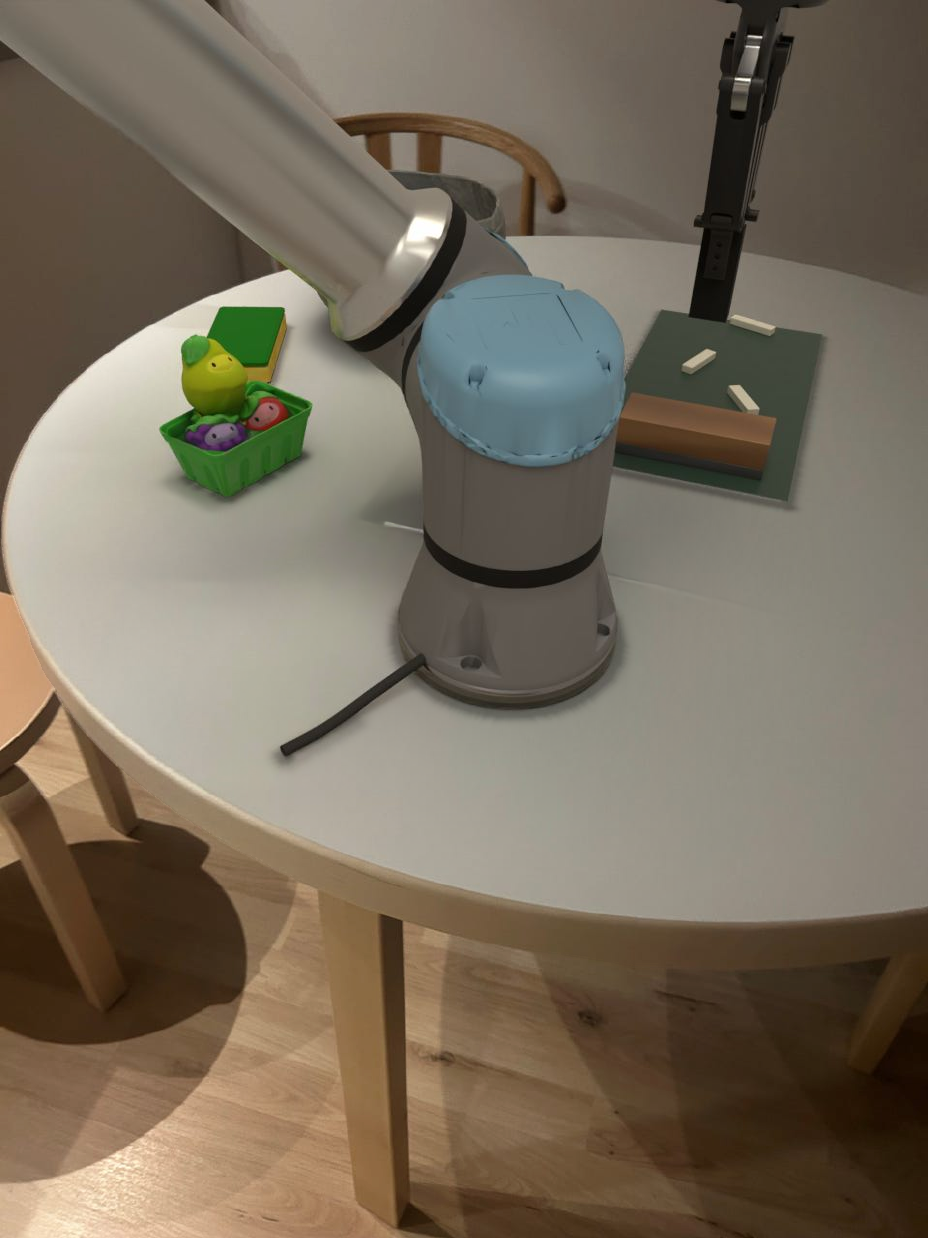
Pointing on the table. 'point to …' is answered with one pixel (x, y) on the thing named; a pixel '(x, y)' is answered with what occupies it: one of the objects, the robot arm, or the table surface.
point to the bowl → (458, 197)
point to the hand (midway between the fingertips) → (708, 315)
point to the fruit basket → (232, 421)
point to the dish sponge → (251, 337)
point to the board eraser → (695, 435)
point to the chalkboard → (744, 358)
